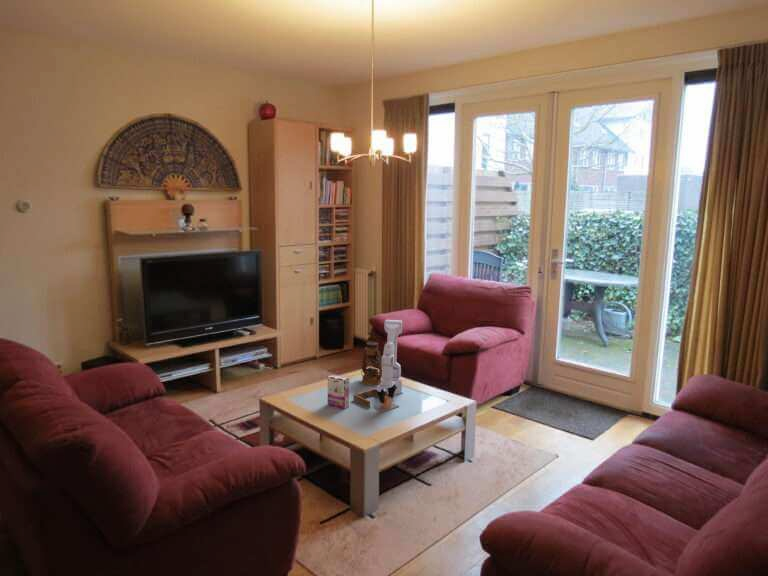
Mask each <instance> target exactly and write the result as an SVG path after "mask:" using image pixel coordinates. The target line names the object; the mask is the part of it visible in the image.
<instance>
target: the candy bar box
mask: <svg viewBox="0 0 768 576" xmlns="http://www.w3.org/2000/svg"><path fill="white" fill-rule="evenodd" d="M327 405H328V406H330V407H335V408H339V409H344V410H345V409H347V408H348V407H349V406H350V377H347V376H342V375H337V374H330V375H328V376H327Z"/></svg>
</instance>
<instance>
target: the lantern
mask: <svg viewBox="0 0 768 576" xmlns="http://www.w3.org/2000/svg"><path fill="white" fill-rule="evenodd" d="M370 337H374V335H373V334H372V335H371V336H370ZM378 345H379V343H378V342H375V341H367V342H366V346H365V347H364V349H363V352H362V360H361V365H360V370H361V371H360V373H361V376H362V379H361V381H360V383H361V384H362V385H365V386H368V385H369V386H368V387H376V386H375V385H377V386H380V385H379V384H380V383H382V365H381V358H382V354H381V352H380V350H379V346H378ZM369 362H373V363H370V364H369ZM370 366H371V367H370ZM374 366H375V367H374ZM377 367H378V368H377Z"/></svg>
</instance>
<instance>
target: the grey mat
mask: <svg viewBox="0 0 768 576" xmlns="http://www.w3.org/2000/svg"><path fill="white" fill-rule="evenodd" d="M399 407H400V405H397V404H396V403H393V402H391V407H389V408H384V407H381V404H378V405H374V406H373V407H372V408H373V409H375V410H376V411H380V412H382V413H385V412H388V411H391V410H395V409H398V408H399Z"/></svg>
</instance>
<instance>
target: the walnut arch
mask: <svg viewBox="0 0 768 576" xmlns="http://www.w3.org/2000/svg"><path fill="white" fill-rule="evenodd" d="M376 390H377V388H372V389H368V390H364V391H360V392H359V393H355V394H353V395H352V396H353V398H352V399H353V402H356V403H357V404H360V405H362V406H364V407H365V408H368V409H369V408H370V407H371V401H370V400H368V399H367V398H369V397H373V395H374V396H375V395H376V397H378V398H379V396H378V393H377V392H376ZM385 396H388V397H389V395H388V394H387V393H386V395H385Z"/></svg>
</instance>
